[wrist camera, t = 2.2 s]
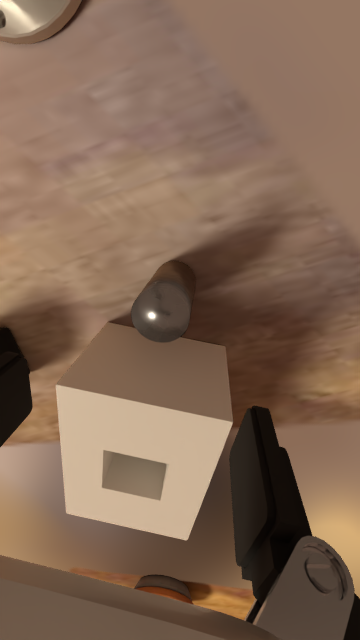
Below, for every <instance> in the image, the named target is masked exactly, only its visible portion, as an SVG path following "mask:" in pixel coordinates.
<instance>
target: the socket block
mask: <svg viewBox="0 0 360 640" xmlns="http://www.w3.org/2000/svg"><path fill="white" fill-rule="evenodd" d="M56 393H57V405H58V417H59V430H60V442H61V454H62V466H63V479H64V490H65V503H66V513H67V514H72V515H76V516H81V517H85V518H90V519H94V520H98V521H103V522H108V523H112V524H116V525H121V526H125V527H130V528H134V529H138V530H143V531H147V532H152V533H156V534H161V535H165V536H170V537H174V538H179V539H184V540H187V539H188V537H189V534H190V532H191V529H192V526H193V524H194V521H195V519H196V516H197V514H198V511H199V508H200V506H201V503H202V501H203V498H204V495H205V493H206V491H207V488H208V486H209V483H210V480H211V478H212V475H213V472H214V470H215V468H216V465H217V462H218V460H219V457H220V455H221V452H222V450H223V447H224V444H225V442H226V439H227V437H228V434H229V432H230V429H231V427H232V424H233V416H232V406H231V396H230V386H229V376H228V366H227V356H226V346H221V345H216V344H211V343H206V342H201V341H197V340H192V339H187V338H182V337H179V338H178V339H176V340H174V341H171V342H165V343H160V342H155V341H151V340H149V339H147V338H145V337H144V336H142V335H141V334H140V333H139V332H138V331H137V329H136V328H133V327H129V326H124V325H119V324H114V323H109V322H107V323H106V325H105V326H104V327H103V328H102V329H101V331H100V332H99V333H98V334H97V335H96V337H95V338H94V339H93V340H92V341H91V343H90V344H89V345H88V346H87V348H86V349H85V350H84V351H83V352H82V354H81V355H80V356H79V357H78V358H77V360H76V361H75V362H74V363H73V364H72V366H71V367H70V368H69V369H68V370H67V372H66V373H65V374H64V375H63V376H62V378H61V379H60V380H59V381H58V383H57V384H56Z"/></svg>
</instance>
